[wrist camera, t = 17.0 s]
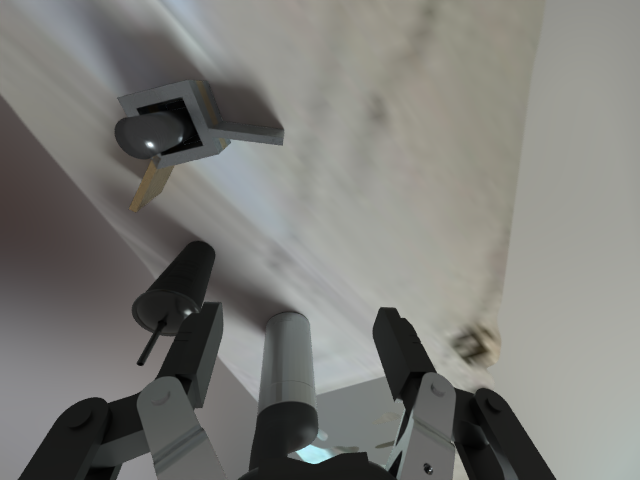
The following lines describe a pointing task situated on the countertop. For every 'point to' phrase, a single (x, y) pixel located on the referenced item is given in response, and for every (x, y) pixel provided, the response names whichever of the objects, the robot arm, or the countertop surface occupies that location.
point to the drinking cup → (174, 294)
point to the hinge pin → (154, 132)
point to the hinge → (207, 125)
